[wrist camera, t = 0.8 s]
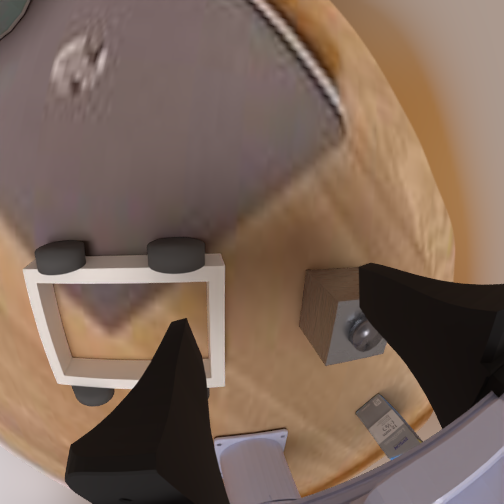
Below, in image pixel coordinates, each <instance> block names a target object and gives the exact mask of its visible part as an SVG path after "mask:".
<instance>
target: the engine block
mask: <svg viewBox="0 0 504 504" xmlns="http://www.w3.org/2000/svg"><path fill="white" fill-rule="evenodd" d="M299 327H300V328H301V330H302V331H303V333H304V334H305V336H306V337H307V339H308V340H309V342H310V343H311V345H312V346H313V348H314V349H315V351H316V352H317V354H318V355H319V357H320V358H321V360H322V361H323V363H324V364H325V366H327V365H332V364H337V363H342V362H347V361H352V360H357V359H361V358H366V357H370V356H375V355H379V354H383V352H384V349H385V346H386V343H387V341H386V340H385V339H384V338H383V337H382V336H381V335H380V334H379V333H378V332H377V330H376V329H375V328H374V327H373V326H372V325H371V324H370V322H369V321H368V319H367V318H366V316H365V315H364V313H363V312H362V310H361V309H360V307H359V267H355V268H337V269H317V270H306V275H305V284H304V292H303V300H302V308H301V316H300V323H299Z"/></svg>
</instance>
